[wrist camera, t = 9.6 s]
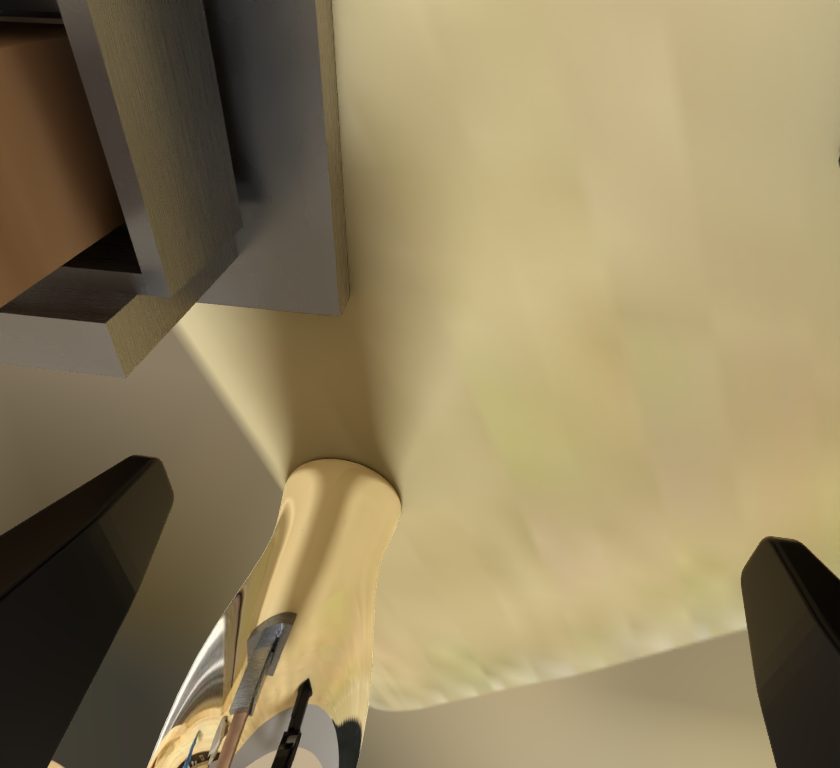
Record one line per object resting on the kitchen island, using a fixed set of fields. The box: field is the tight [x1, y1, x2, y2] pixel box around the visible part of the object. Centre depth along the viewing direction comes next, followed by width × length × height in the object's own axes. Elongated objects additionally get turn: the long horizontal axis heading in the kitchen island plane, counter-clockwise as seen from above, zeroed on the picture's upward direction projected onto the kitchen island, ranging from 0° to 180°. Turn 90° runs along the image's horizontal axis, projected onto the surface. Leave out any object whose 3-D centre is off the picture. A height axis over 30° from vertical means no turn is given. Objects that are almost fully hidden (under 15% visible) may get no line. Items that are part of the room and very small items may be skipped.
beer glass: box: [147, 459, 401, 768], centre depth 23 cm, size 7×7×15 cm
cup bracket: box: [0, 0, 350, 378], centre depth 15 cm, size 12×12×8 cm
